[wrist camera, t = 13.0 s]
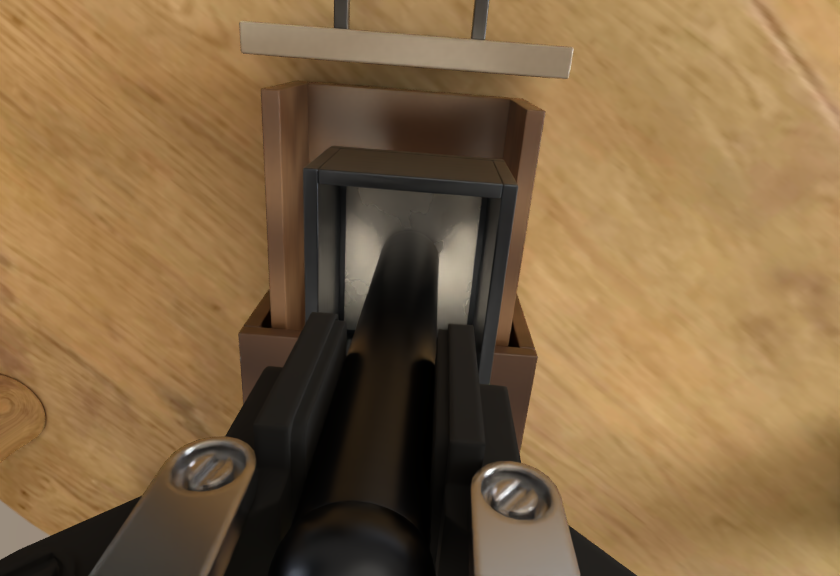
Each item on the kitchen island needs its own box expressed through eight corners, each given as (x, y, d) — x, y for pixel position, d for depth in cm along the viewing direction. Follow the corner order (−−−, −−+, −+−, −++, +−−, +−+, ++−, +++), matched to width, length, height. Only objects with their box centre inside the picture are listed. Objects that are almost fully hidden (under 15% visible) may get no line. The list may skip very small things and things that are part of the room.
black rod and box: (330, 145, 17) (18, 391, 5) (503, 158, 17) (665, 447, 5) (329, 336, 20) (133, 815, 7) (479, 348, 20) (537, 853, 7)
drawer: (279, -100, 25) (228, -149, 19) (562, -77, 26) (603, -118, 19) (290, 314, 34) (258, 373, 28) (500, 330, 34) (515, 393, 28)
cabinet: (283, 267, 34) (237, 333, 26) (514, 285, 34) (538, 356, 26) (290, 482, 41) (255, 584, 33) (481, 496, 41) (492, 602, 33)
